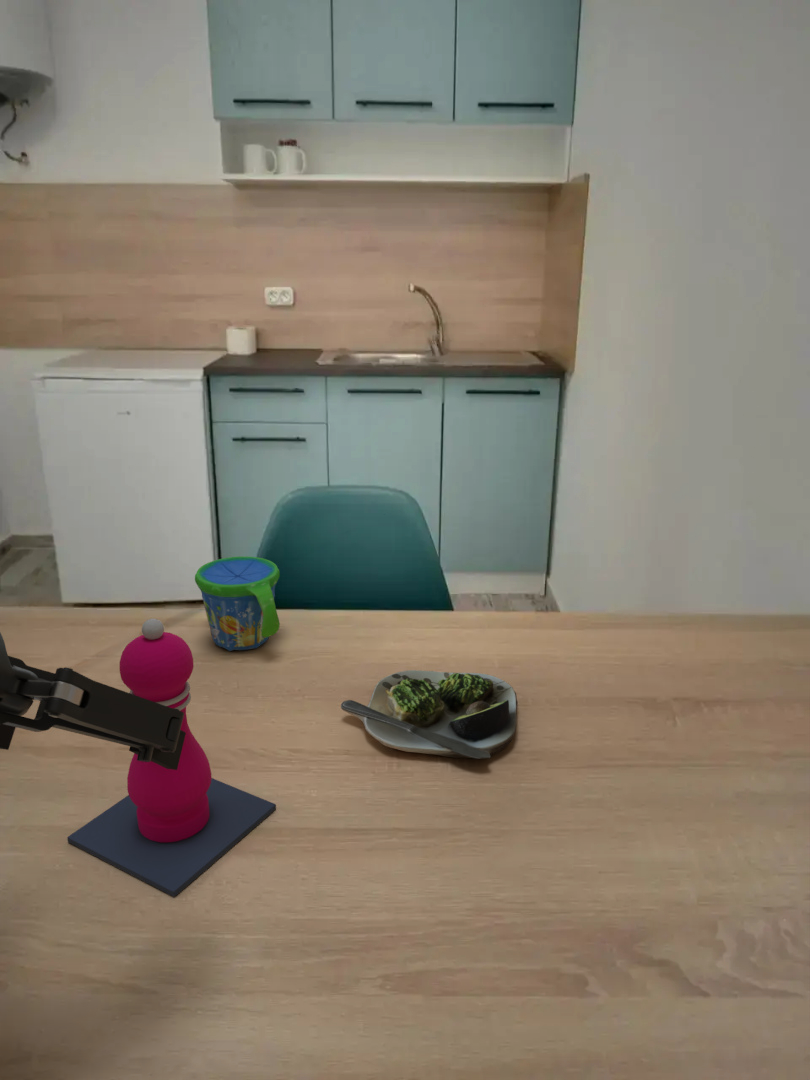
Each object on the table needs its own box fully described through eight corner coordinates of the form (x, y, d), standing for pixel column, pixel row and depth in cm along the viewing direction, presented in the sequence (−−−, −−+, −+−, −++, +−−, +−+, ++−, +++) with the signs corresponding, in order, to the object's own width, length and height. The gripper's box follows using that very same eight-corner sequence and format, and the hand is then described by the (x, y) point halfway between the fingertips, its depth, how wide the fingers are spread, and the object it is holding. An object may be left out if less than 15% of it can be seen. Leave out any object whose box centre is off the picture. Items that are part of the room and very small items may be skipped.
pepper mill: (132, 854, 71) (103, 644, 64) (133, 803, 78) (107, 607, 71) (218, 838, 73) (198, 632, 66) (212, 789, 79) (194, 598, 73)
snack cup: (304, 652, 108) (301, 579, 104) (229, 674, 102) (223, 598, 99) (253, 611, 120) (249, 545, 117) (183, 629, 114) (176, 560, 111)
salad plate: (324, 760, 85) (322, 720, 83) (359, 676, 102) (358, 642, 100) (514, 777, 82) (516, 736, 81) (518, 687, 99) (520, 653, 97)
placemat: (67, 842, 73) (66, 837, 73) (175, 767, 84) (175, 762, 84) (174, 897, 67) (173, 891, 67) (276, 809, 78) (276, 803, 77)
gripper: (-337, 700, 44) (-75, 773, 62) (100, 752, 39) (239, 813, 58) (-269, 569, 47) (-40, 676, 66) (141, 604, 42) (261, 707, 61)
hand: (91, 741), depth 62 cm, fingers open, 13 cm apart
